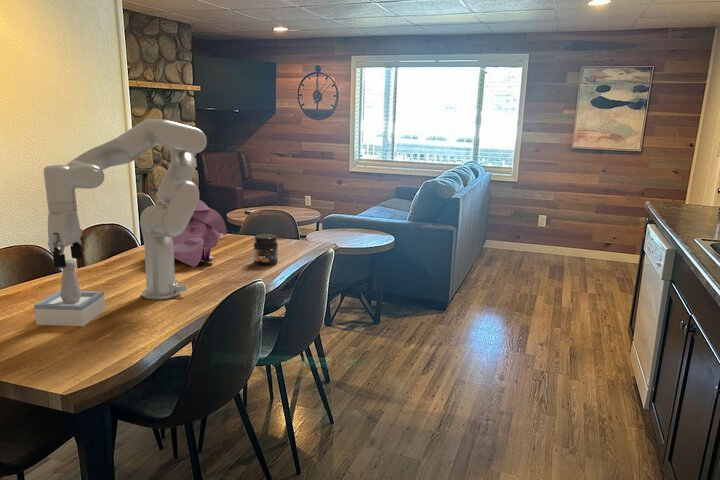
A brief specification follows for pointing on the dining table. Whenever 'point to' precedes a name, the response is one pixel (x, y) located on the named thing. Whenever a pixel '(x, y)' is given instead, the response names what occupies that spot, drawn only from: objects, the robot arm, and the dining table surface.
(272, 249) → the supplement container
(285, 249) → the dining table surface
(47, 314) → the stand
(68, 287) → the salt shaker
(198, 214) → the flower arrangement
